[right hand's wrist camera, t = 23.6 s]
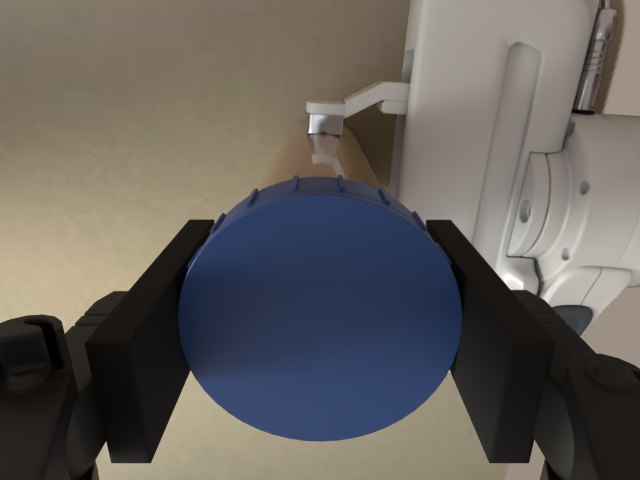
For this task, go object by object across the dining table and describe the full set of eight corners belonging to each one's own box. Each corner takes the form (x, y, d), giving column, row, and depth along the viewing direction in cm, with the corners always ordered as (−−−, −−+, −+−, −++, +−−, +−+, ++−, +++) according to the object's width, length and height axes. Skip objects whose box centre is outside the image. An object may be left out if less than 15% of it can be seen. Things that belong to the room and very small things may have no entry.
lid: (208, 398, 13) (192, 444, 11) (179, 175, 11) (154, 194, 9) (434, 396, 13) (451, 442, 11) (457, 171, 11) (481, 190, 9)
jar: (299, 212, 30) (269, 422, 12) (264, 138, 28) (170, 258, 11) (373, 181, 30) (456, 357, 12) (342, 103, 28) (383, 169, 10)
